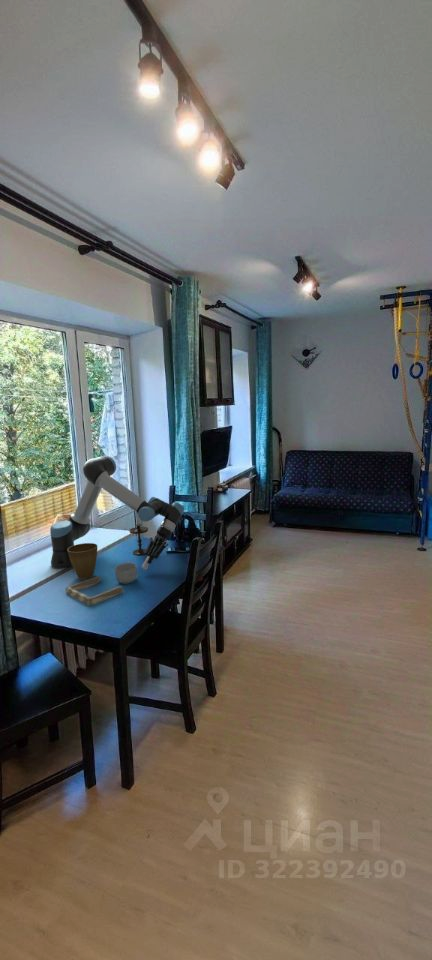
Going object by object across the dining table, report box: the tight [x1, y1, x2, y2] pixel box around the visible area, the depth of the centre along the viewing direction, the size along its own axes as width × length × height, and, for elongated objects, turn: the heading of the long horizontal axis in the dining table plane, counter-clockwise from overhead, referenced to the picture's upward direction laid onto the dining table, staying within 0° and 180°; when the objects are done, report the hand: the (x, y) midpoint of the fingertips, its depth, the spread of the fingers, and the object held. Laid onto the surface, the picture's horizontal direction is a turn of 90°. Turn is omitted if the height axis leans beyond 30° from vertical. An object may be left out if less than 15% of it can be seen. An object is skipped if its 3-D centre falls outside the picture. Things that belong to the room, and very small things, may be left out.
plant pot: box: [67, 542, 98, 580], centre depth 233 cm, size 15×15×16 cm
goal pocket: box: [65, 575, 124, 607], centre depth 213 cm, size 21×18×3 cm
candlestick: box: [128, 512, 149, 556], centre depth 263 cm, size 11×11×35 cm
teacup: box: [114, 561, 138, 585], centre depth 226 cm, size 14×11×8 cm
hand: (143, 568), depth 232 cm, fingers closed
